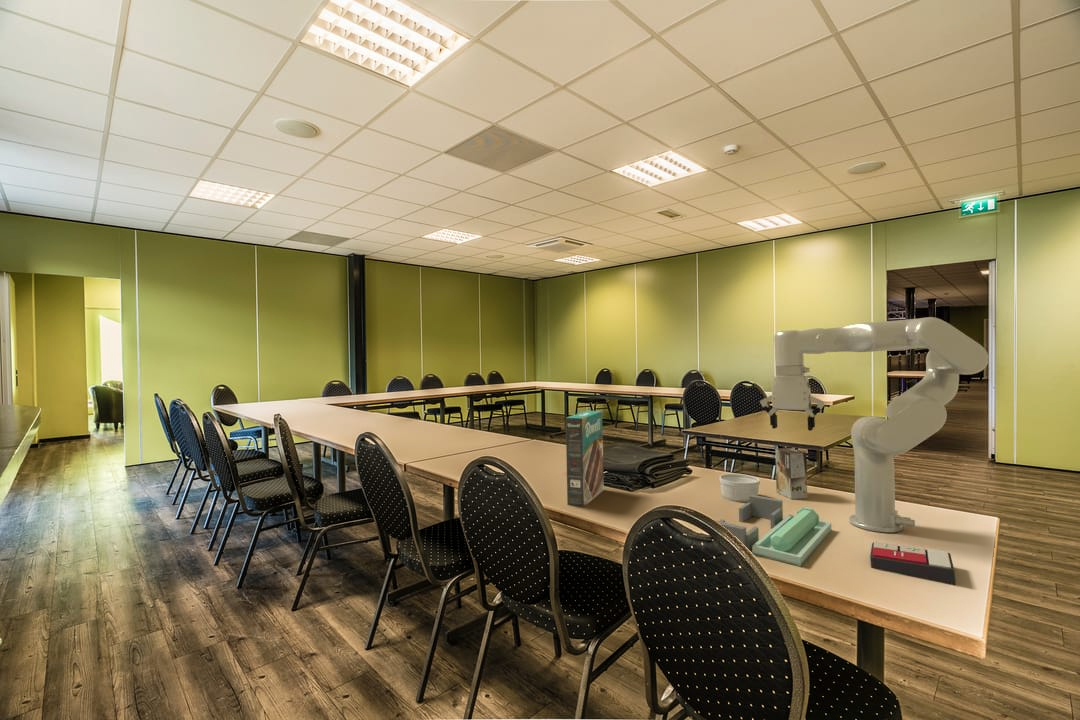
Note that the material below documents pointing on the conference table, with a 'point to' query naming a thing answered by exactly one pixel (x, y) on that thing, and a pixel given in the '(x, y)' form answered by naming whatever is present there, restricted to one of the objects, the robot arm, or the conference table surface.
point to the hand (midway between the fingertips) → (792, 429)
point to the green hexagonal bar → (794, 529)
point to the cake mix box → (584, 457)
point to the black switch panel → (913, 561)
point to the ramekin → (739, 486)
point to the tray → (799, 550)
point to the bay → (757, 508)
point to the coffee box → (791, 473)
